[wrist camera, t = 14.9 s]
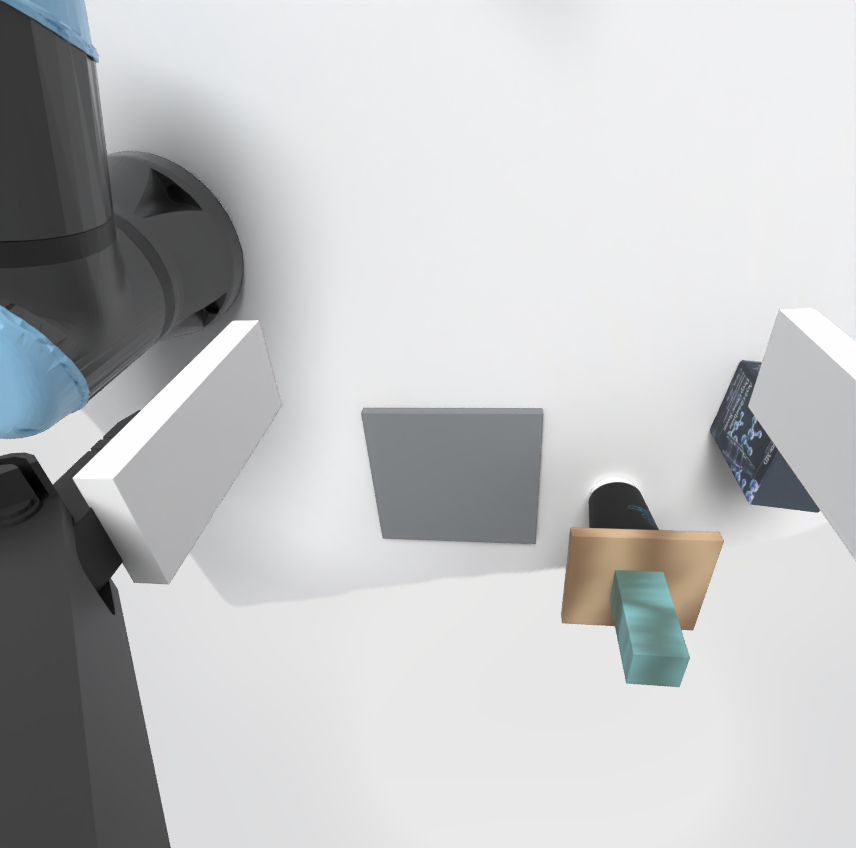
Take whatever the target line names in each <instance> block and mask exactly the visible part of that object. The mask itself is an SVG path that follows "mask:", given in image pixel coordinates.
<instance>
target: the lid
mask: <svg viewBox="0 0 856 848" xmlns="http://www.w3.org/2000/svg"><path fill="white" fill-rule="evenodd" d="M723 542H724V540H723V538H722V536H721V534H720V532H699V531H667V530H634V529H602V528H570V537H569V547H568V556H567V565H566V574H565V584H564V594H563V602H562V611H561V617H562V623H569V624H586V625H606V626H615V628H616V633H617V638H618V644H619V649H620V654H621V659H622V664H623V669H624V674H625V679H626V683H629V684H642V685H657V686H671V687H680V684H681V681H682V678H683V675H684V673H685V670H686V667H687V664H688V662H689V659H690V656H689V653H688V650H687V647H686V644H685V640H684V637H683V634H682V631H681V630H693V629H694V626H695V623H696V620H697V618H698V615H699V612H700V609H701V606H702V603H703V600H704V597H705V594H706V592H707V589H708V586H709V583H710V580H711V577H712V574H713V571H714V568H715V565H716V563H717V560H718V557H719V554H720V551H721V548H722V545H723Z"/></svg>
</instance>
